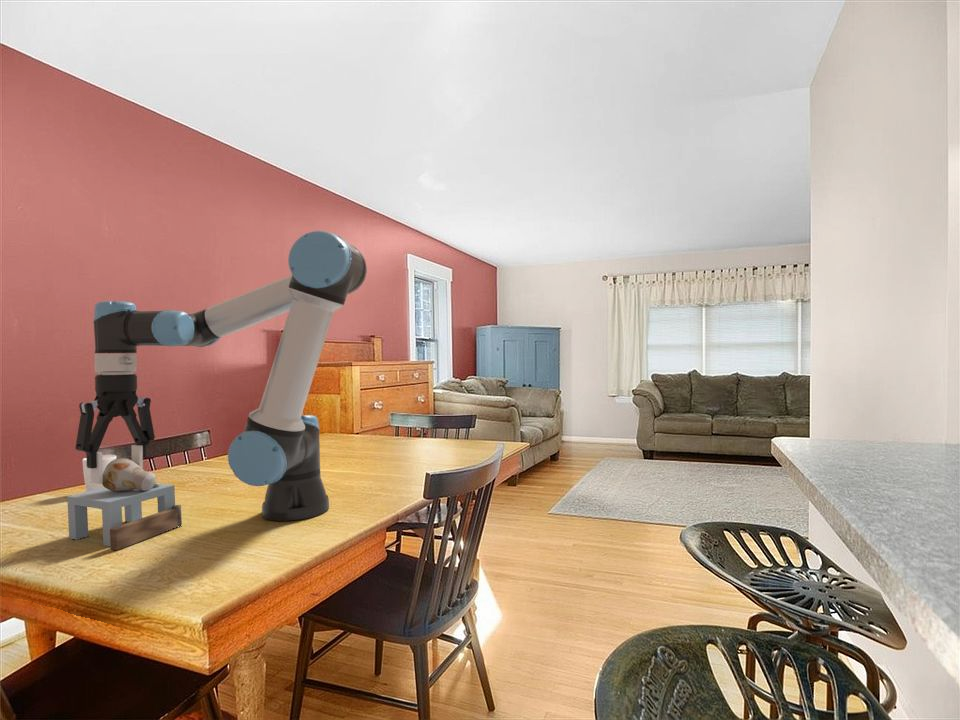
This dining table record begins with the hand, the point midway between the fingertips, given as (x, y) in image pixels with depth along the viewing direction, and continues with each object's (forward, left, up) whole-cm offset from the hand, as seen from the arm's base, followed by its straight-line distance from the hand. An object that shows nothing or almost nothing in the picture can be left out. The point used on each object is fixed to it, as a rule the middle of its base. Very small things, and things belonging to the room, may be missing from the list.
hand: (117, 478), depth 116 cm
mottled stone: (-3, -1, -3) cm, 4 cm away
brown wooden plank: (-10, 0, -12) cm, 15 cm away
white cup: (+41, -20, -12) cm, 48 cm away
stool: (-1, 0, -12) cm, 12 cm away
